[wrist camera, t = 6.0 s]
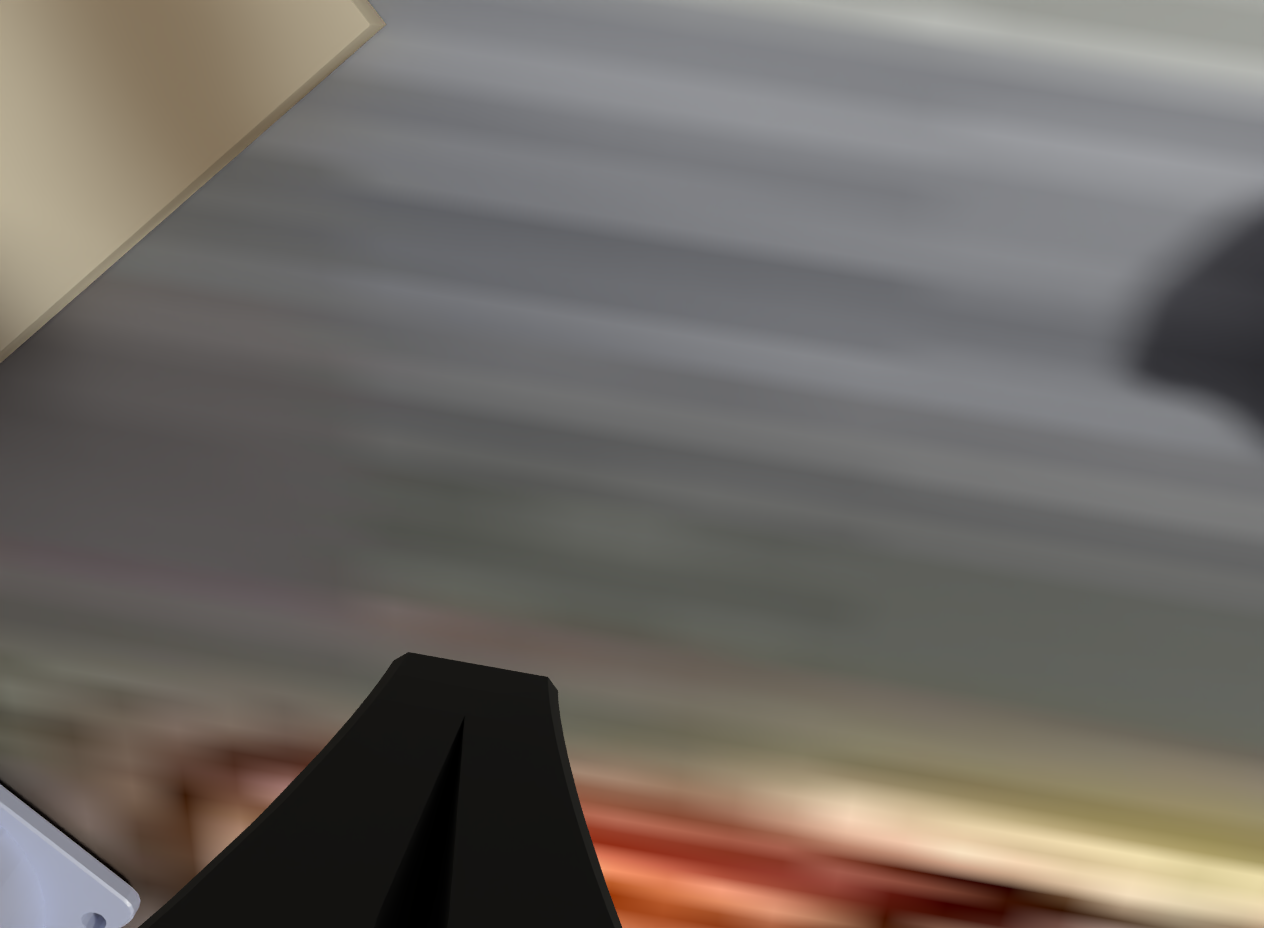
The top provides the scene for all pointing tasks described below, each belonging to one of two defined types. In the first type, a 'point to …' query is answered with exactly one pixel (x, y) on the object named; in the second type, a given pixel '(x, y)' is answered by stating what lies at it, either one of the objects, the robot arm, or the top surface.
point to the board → (136, 122)
